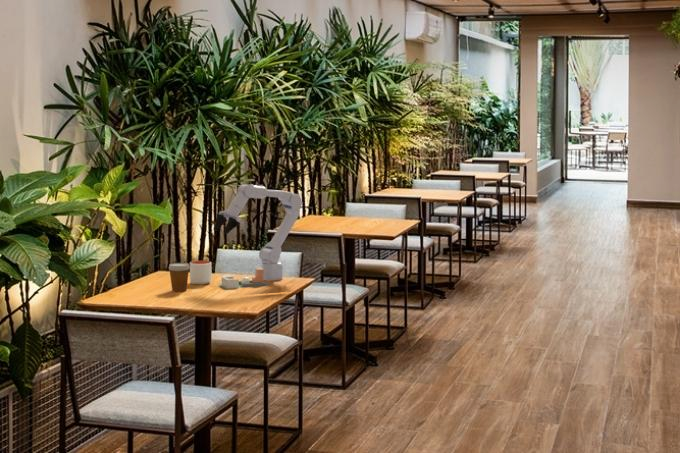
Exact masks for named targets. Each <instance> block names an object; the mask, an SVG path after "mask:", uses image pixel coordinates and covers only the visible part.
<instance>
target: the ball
mask: <svg viewBox="0 0 680 453" xmlns="http://www.w3.org/2000/svg"><path fill="white" fill-rule="evenodd" d="M240 281H241V283H242V284H244V283H250V278H249V277H248V276H242V278H241V280H240Z"/></svg>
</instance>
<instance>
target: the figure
mask: <svg viewBox="0 0 680 453" xmlns="http://www.w3.org/2000/svg"><path fill="white" fill-rule="evenodd" d="M254 273H255V274H254V275H255V276H252V277H251V280H252V283H259V282H265V280H264V269H262V267H260V268H255V271H254Z"/></svg>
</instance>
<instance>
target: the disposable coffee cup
mask: <svg viewBox="0 0 680 453" xmlns="http://www.w3.org/2000/svg"><path fill="white" fill-rule="evenodd" d="M168 270H169V275H170V283H171V284H170V285H171V291H172V292H173V291H174V293H183V292H187V289H188V288H187V287H188V280H189V279H188V278H189V273H190V263H188V262H187V263H185V262H175V263H170V264H169V266H168Z"/></svg>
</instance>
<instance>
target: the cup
mask: <svg viewBox="0 0 680 453" xmlns="http://www.w3.org/2000/svg"><path fill="white" fill-rule="evenodd" d="M189 267H190V268H189V282H190V283H191V284H193V285H196V284H205V285H208V284H209V285H210V284H211V282H212V262H211V261H209V260H193V261H192V260H191V261H190V262H189Z"/></svg>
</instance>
